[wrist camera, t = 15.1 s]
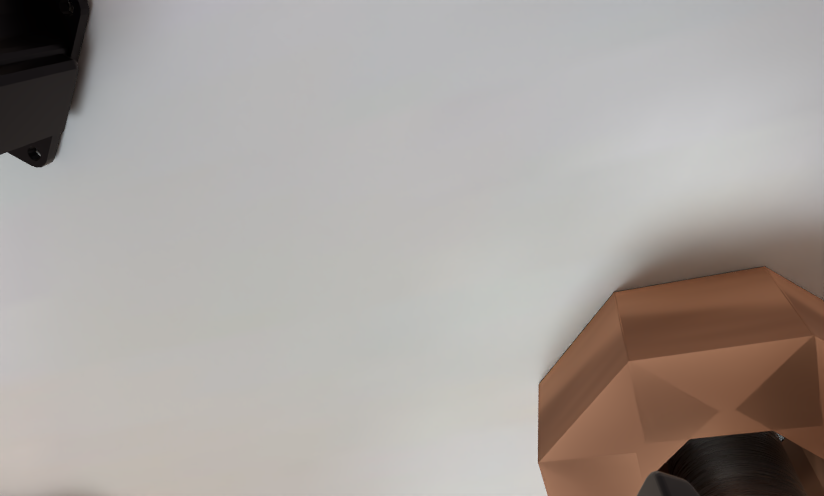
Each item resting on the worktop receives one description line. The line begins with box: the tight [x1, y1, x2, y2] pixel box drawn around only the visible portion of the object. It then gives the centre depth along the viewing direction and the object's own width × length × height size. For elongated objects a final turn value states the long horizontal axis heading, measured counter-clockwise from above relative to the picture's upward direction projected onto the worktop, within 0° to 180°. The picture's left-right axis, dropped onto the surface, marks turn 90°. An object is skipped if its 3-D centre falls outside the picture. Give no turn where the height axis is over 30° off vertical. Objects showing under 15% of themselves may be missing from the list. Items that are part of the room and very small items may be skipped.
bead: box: [538, 266, 824, 496], centre depth 20 cm, size 11×11×4 cm
